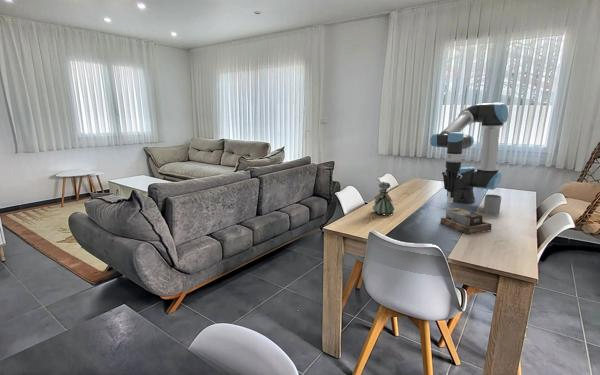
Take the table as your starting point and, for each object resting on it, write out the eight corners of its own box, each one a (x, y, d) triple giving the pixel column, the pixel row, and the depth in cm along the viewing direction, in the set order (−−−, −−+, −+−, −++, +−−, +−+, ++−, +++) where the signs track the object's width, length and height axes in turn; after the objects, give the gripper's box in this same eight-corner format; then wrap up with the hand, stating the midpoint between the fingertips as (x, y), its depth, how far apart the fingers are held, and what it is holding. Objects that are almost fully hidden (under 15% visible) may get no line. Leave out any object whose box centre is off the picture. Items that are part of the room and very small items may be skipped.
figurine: (365, 213, 195) (366, 181, 190) (377, 208, 205) (378, 178, 200) (387, 218, 185) (388, 185, 181) (398, 212, 195) (400, 181, 191)
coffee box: (457, 207, 179) (483, 215, 165) (456, 218, 181) (482, 226, 166) (445, 209, 176) (471, 217, 161) (444, 220, 177) (470, 229, 163)
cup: (498, 210, 195) (500, 195, 193) (500, 214, 188) (502, 198, 185) (482, 209, 198) (484, 194, 196) (483, 213, 191) (485, 197, 189)
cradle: (440, 223, 175) (440, 217, 174) (463, 219, 180) (463, 214, 179) (466, 234, 158) (467, 228, 158) (490, 230, 163) (491, 224, 163)
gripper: (439, 160, 177) (436, 200, 183) (457, 163, 165) (453, 206, 171) (449, 159, 180) (446, 199, 185) (468, 162, 168) (464, 205, 173)
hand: (449, 202), depth 178 cm, fingers closed
